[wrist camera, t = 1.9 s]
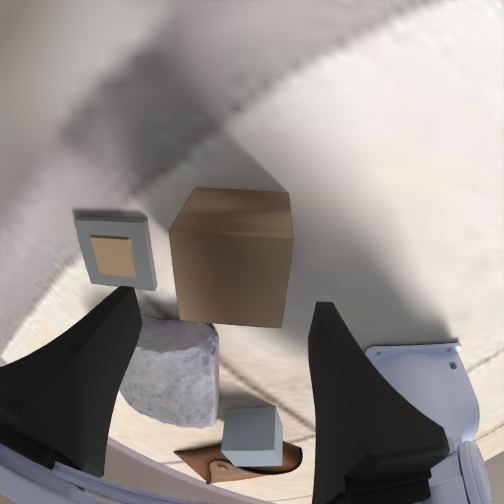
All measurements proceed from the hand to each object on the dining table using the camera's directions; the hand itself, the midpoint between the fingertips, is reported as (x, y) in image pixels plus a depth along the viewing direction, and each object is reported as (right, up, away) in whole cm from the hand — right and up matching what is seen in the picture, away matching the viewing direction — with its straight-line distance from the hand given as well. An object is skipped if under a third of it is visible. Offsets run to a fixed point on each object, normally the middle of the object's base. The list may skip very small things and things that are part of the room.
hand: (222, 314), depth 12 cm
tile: (-8, +2, +7) cm, 11 cm away
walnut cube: (+1, +4, +6) cm, 7 cm away
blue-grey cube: (+2, -15, +18) cm, 23 cm away
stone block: (-6, -7, +13) cm, 16 cm away
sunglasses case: (-1, -25, +25) cm, 35 cm away
